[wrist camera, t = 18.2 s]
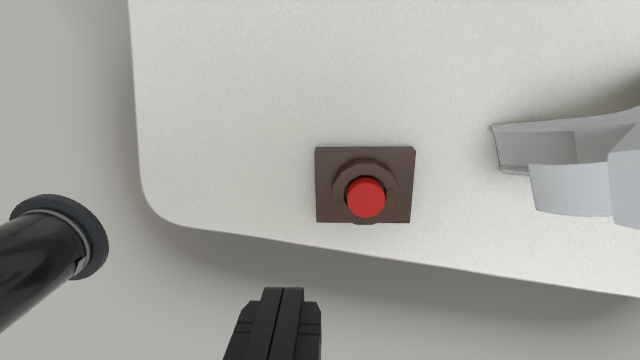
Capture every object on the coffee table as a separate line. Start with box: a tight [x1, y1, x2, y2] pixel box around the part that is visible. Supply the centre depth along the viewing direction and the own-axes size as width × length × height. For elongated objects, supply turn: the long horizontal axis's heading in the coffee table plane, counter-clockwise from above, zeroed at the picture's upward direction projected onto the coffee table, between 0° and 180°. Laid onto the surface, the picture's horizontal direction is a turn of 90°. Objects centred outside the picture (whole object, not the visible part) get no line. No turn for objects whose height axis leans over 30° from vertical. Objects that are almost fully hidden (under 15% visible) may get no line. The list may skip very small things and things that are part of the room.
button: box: [347, 177, 385, 218], centre depth 31 cm, size 4×4×2 cm
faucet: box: [491, 105, 640, 229], centre depth 26 cm, size 6×16×20 cm
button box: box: [315, 147, 416, 225], centre depth 33 cm, size 10×8×4 cm
